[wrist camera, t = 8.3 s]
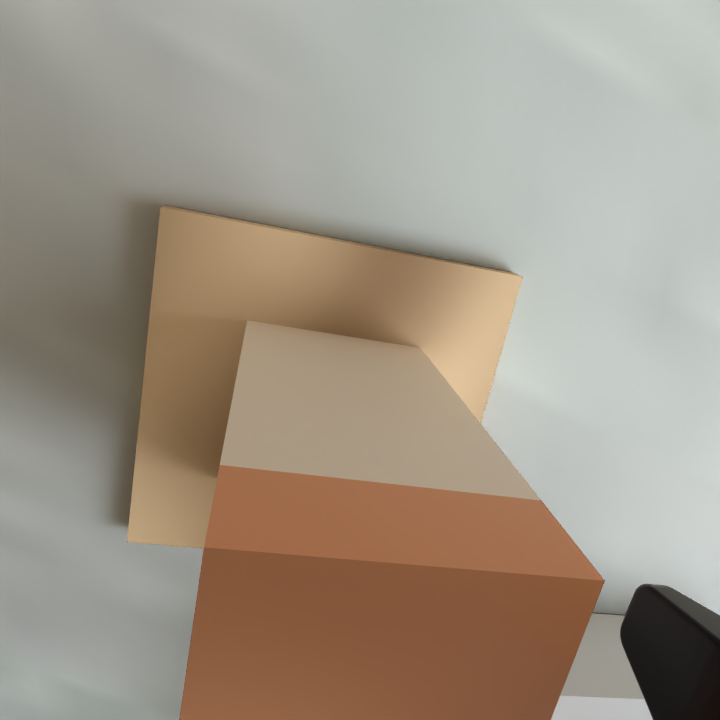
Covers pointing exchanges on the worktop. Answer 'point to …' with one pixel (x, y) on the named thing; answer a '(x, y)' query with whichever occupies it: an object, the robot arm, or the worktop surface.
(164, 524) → the mat
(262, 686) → the plug
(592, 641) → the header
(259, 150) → the worktop surface
